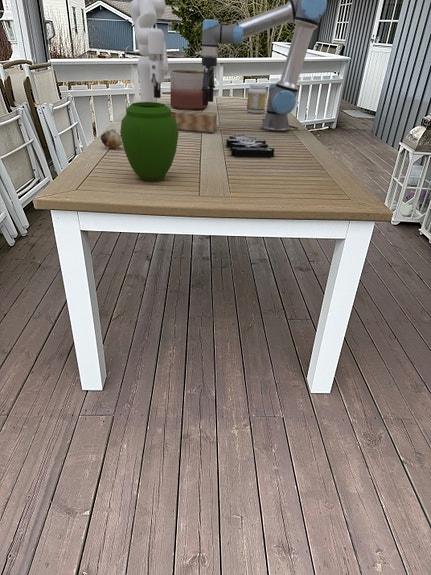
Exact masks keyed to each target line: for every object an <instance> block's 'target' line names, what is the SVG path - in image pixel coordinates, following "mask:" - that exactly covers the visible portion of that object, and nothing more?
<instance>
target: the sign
mask: <svg viewBox="0 0 431 575" xmlns="http://www.w3.org/2000/svg"><path fill="white" fill-rule="evenodd" d="M225 144H226V148H229V151H230V155H231V156H233V157H235V158H272V157H274V156H275V148H274V147H269V144H268V143H267V140H265V139H262V138H260V139H258V138H256V137H250V136H245V134H238V135H237V134H234V135H229V137H228V138H226V143H225Z"/></svg>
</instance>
